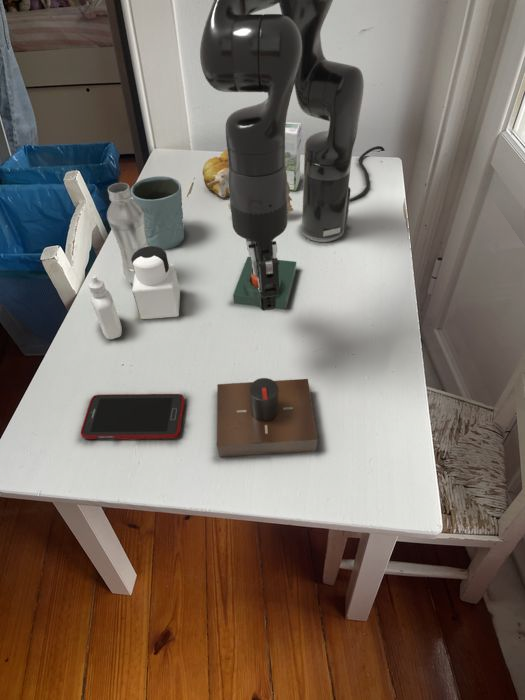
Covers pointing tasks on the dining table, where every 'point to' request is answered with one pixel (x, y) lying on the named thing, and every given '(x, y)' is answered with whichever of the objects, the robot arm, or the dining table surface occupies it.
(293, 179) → the syrup box
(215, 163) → the bread roll
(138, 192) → the teal plant pot
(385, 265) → the dining table surface
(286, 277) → the button housing
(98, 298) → the eye dropper bottle
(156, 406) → the cell phone
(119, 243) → the plastic bottle
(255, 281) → the button
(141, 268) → the medicine bottle
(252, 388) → the dial
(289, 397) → the dial panel
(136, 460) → the dining table surface
